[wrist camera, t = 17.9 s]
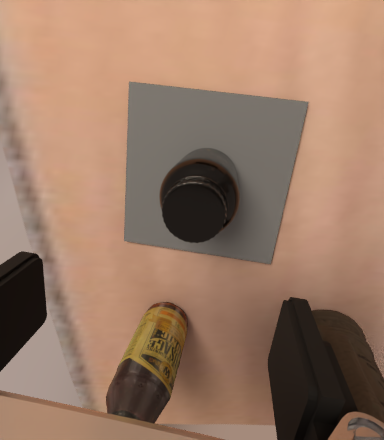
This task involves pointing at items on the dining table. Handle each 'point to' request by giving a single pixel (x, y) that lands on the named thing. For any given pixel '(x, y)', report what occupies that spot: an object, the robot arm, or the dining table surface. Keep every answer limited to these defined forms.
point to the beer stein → (354, 360)
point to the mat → (220, 140)
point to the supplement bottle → (200, 195)
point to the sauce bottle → (149, 365)
